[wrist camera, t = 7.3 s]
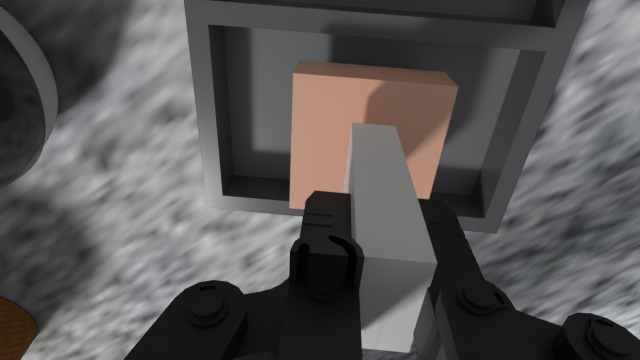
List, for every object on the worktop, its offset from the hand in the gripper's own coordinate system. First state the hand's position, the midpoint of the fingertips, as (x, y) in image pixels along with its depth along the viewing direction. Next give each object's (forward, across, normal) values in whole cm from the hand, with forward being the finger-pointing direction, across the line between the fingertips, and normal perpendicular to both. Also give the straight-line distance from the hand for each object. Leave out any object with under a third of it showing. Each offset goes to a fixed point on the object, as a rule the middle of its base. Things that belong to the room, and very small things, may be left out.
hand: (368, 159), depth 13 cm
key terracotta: (+3, 0, 0) cm, 3 cm away
